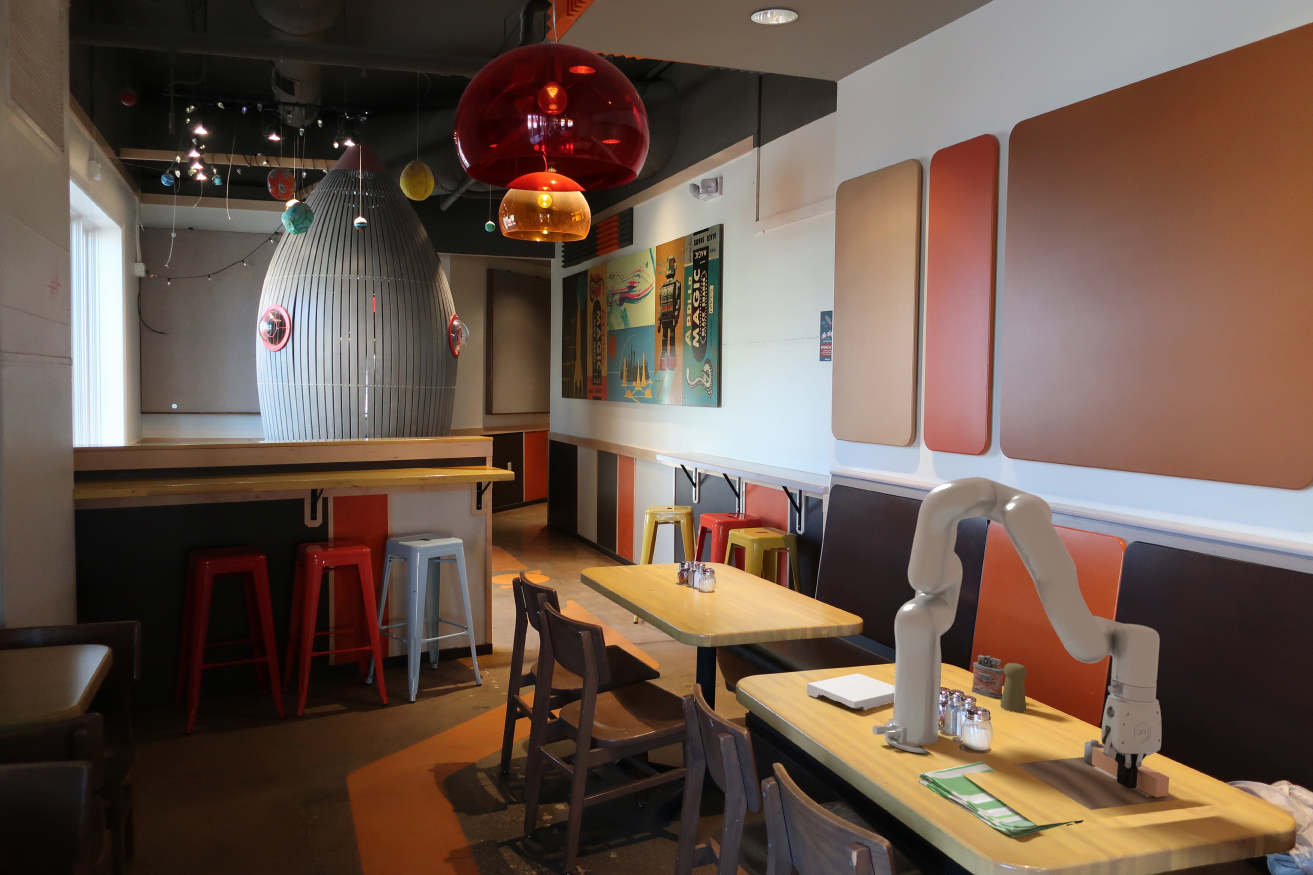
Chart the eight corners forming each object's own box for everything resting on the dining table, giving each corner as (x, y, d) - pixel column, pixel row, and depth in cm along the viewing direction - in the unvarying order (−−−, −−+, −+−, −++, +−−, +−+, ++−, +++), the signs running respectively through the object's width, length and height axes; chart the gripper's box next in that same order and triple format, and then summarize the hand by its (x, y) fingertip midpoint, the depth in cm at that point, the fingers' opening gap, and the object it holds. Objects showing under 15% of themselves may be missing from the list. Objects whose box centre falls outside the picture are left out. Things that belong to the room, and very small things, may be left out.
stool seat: (1089, 817, 152) (1090, 808, 152) (1013, 770, 171) (1014, 762, 171) (1176, 806, 158) (1177, 797, 158) (1093, 762, 177) (1094, 754, 177)
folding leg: (1079, 758, 174) (1081, 738, 174) (1093, 757, 175) (1094, 736, 175) (1154, 797, 157) (1156, 774, 157) (1169, 795, 158) (1170, 772, 158)
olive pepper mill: (1029, 713, 206) (1031, 668, 205) (1002, 710, 207) (1005, 666, 206) (1023, 705, 212) (1025, 661, 211) (998, 702, 213) (1000, 659, 212)
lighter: (969, 691, 221) (971, 653, 220) (975, 688, 223) (977, 651, 223) (998, 700, 215) (1000, 661, 214) (1005, 697, 217) (1007, 659, 216)
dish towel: (1010, 842, 143) (1011, 827, 143) (915, 784, 164) (915, 771, 164) (1083, 824, 150) (1084, 809, 150) (983, 771, 172) (983, 758, 171)
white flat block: (857, 685, 225) (806, 696, 213) (858, 673, 225) (807, 683, 212) (904, 703, 213) (853, 715, 201) (905, 689, 213) (854, 701, 201)
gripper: (1115, 699, 155) (1108, 796, 155) (1181, 695, 158) (1174, 791, 159) (1085, 685, 162) (1079, 778, 163) (1149, 682, 166) (1143, 774, 166)
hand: (1126, 784), depth 161 cm, fingers closed
